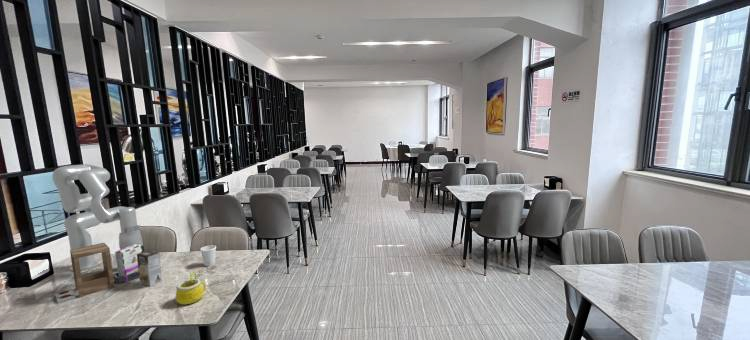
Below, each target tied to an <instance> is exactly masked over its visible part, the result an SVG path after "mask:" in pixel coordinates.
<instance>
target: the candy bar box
mask: <svg viewBox="0 0 750 340" xmlns="http://www.w3.org/2000/svg"><path fill="white" fill-rule="evenodd" d="M141 252H142V247H141V245H139V244H134V245H131V246H129V247H126V248H124V249H121V250H120V249H119V250H117V251H115V252H114V255H115V261H116V266H117V267H116V269H117V273H118V275H119V277H121V276H125V282H124V283H127V282H129V281H128V276H127V275H129V274H131V273H135V272H138V271H139V269H138V260H137V254H138V253H141Z"/></svg>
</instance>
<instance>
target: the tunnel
mask: <svg viewBox="0 0 750 340" xmlns="http://www.w3.org/2000/svg"><path fill="white" fill-rule="evenodd" d="M97 254H101V258H102V259H101V260H102V266H103V270H100V271H97V272H94V273H93V272H92V273H90V274H86V275H82V273H81V272H82V270H80V264H79V258H81V257H85V256H90V255H94V256H95V255H97ZM69 255H70V259H71V266H72V268H73V271H72V274H73V280H74V287H75V291H77V292H78V298H83V297H85V296H89V295H91V294H95V293H99V292H101V291H105V290H108V289H113V288H115V280H114V278H113V274H114V271H113V266H112V265H113V264H112V258H111V257H112V256H111V250H110V246H109V245H107V244H106V243H105V242H101V243H96V244H92V245H91V246H86V247H81V248H77V249H72V250H71V249H69Z"/></svg>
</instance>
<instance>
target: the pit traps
mask: <svg viewBox="0 0 750 340" xmlns="http://www.w3.org/2000/svg"><path fill="white" fill-rule="evenodd" d="M54 297H55V299H56V302H57V305H58V304H62V303H66V302H69V301H72V300H75V299H76V295H75V292H74V290H73V288H69V289H66V290H63V291H59V292H55V293H54Z"/></svg>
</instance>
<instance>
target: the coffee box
mask: <svg viewBox="0 0 750 340" xmlns="http://www.w3.org/2000/svg"><path fill="white" fill-rule="evenodd" d="M137 260H138V269H139V284H142V285H144V286H147V287H152V286H155V285H157V284H160V283H162V282H163V275H162V273H163V272H162V265H161V255H160V252H159V251H157V250H151V249H148V250H144V252H141V253H138V254H137Z"/></svg>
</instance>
